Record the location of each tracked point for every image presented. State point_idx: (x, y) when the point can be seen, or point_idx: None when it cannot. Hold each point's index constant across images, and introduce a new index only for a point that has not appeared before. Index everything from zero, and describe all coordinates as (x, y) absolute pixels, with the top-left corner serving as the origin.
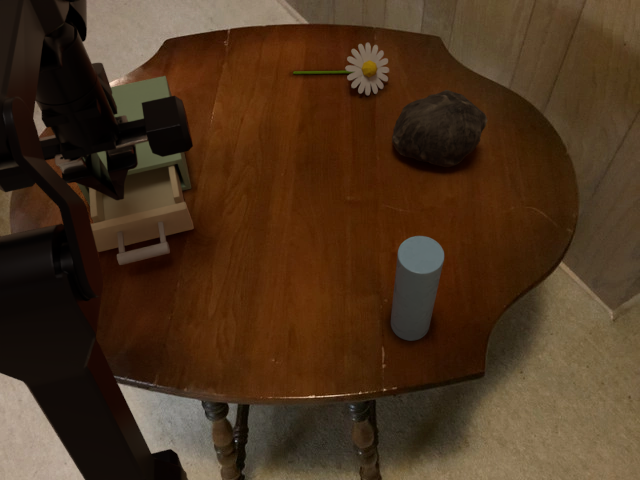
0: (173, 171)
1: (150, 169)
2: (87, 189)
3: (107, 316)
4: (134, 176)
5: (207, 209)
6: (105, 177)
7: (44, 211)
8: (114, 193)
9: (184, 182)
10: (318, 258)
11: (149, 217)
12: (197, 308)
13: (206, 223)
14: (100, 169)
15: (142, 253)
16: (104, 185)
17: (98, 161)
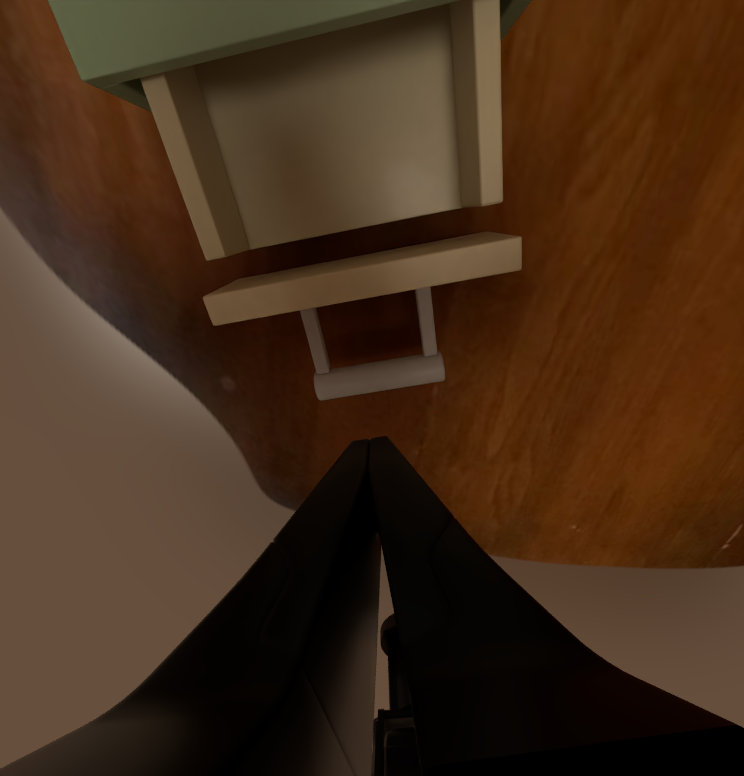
0: (494, 39)
1: (398, 14)
2: (138, 81)
3: (301, 439)
4: None
5: (527, 167)
6: (360, 652)
7: (17, 98)
8: (380, 560)
9: None
10: (738, 363)
11: (401, 291)
12: (468, 441)
13: (516, 224)
14: (341, 736)
15: (380, 389)
16: (372, 728)
17: (317, 743)
